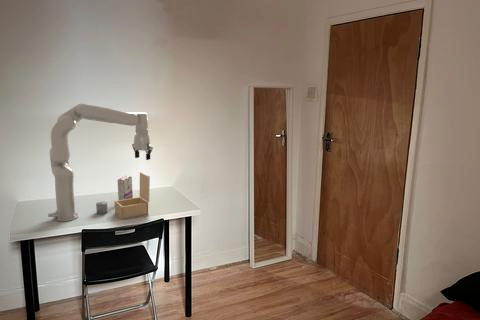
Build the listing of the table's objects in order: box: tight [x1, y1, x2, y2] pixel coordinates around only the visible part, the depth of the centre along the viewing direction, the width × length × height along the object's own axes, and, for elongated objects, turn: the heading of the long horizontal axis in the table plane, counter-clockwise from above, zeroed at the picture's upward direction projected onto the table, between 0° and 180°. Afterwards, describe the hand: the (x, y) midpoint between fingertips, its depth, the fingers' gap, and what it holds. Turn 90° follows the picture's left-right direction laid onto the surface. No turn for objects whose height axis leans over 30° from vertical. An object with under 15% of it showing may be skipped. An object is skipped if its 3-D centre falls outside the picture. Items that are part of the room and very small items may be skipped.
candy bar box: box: [116, 175, 134, 201], centre depth 249 cm, size 11×5×16 cm, turn 168°
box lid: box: [139, 171, 151, 203], centre depth 229 cm, size 16×13×1 cm
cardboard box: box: [114, 196, 149, 221], centre depth 226 cm, size 16×13×8 cm
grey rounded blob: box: [95, 201, 109, 215], centre depth 227 cm, size 6×6×6 cm
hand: (142, 158), depth 237 cm, fingers open, 9 cm apart
